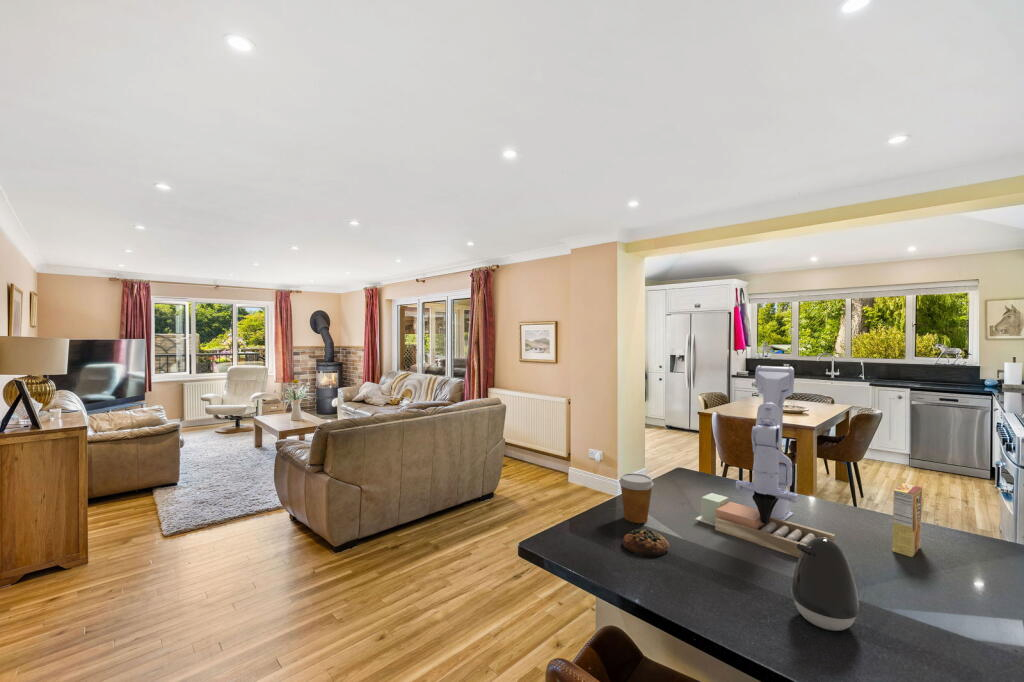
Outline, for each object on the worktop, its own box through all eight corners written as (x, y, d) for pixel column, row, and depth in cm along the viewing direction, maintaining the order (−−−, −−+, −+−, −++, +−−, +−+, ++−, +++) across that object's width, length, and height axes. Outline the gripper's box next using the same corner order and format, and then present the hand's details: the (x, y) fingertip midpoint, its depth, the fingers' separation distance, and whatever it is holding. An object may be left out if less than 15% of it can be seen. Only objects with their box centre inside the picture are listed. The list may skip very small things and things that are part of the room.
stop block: (711, 513, 134) (711, 492, 134) (728, 518, 130) (728, 497, 130) (701, 518, 130) (701, 497, 130) (718, 523, 126) (719, 502, 126)
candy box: (899, 541, 116) (900, 482, 116) (921, 547, 113) (922, 486, 113) (891, 551, 111) (892, 489, 111) (914, 558, 108) (915, 494, 107)
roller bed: (711, 510, 136) (712, 500, 136) (834, 547, 113) (835, 534, 113) (690, 522, 127) (690, 510, 127) (818, 564, 104) (819, 550, 104)
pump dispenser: (777, 606, 87) (778, 527, 87) (827, 604, 88) (828, 526, 88) (817, 641, 77) (818, 552, 77) (874, 638, 78) (875, 551, 78)
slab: (730, 510, 130) (730, 501, 130) (767, 521, 123) (767, 511, 123) (715, 518, 124) (716, 509, 124) (754, 530, 117) (754, 520, 117)
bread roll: (635, 559, 105) (634, 536, 106) (615, 544, 116) (615, 524, 117) (678, 557, 108) (677, 535, 108) (654, 543, 118) (654, 523, 119)
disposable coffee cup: (653, 515, 132) (654, 474, 132) (652, 528, 123) (653, 484, 123) (620, 511, 135) (620, 471, 135) (616, 523, 126) (617, 480, 126)
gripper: (731, 467, 122) (730, 517, 122) (791, 480, 111) (791, 535, 111) (742, 463, 126) (741, 511, 126) (801, 475, 115) (800, 528, 115)
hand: (765, 522), depth 119 cm, fingers closed
